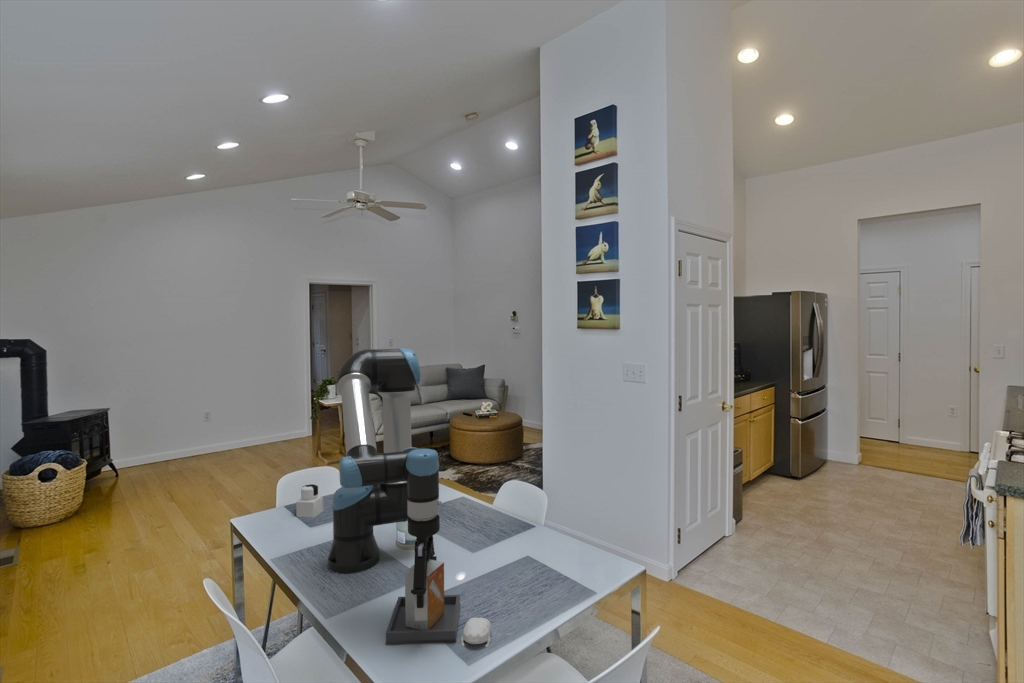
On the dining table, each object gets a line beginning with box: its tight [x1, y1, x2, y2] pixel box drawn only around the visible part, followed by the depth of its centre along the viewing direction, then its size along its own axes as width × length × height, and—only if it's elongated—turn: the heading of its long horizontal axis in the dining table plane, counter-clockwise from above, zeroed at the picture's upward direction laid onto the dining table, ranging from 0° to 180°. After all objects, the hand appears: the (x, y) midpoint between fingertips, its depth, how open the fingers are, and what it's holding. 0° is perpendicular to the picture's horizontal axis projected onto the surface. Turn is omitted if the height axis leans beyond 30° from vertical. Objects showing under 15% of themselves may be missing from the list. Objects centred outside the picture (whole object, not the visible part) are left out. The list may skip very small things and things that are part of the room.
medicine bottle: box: [295, 484, 324, 519], centre depth 191 cm, size 7×7×12 cm
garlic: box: [460, 617, 492, 648], centre depth 114 cm, size 8×7×4 cm
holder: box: [385, 594, 461, 645], centre depth 120 cm, size 16×16×2 cm
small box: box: [404, 559, 445, 630], centre depth 120 cm, size 8×6×13 cm
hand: (425, 603), depth 120 cm, fingers open, 13 cm apart
